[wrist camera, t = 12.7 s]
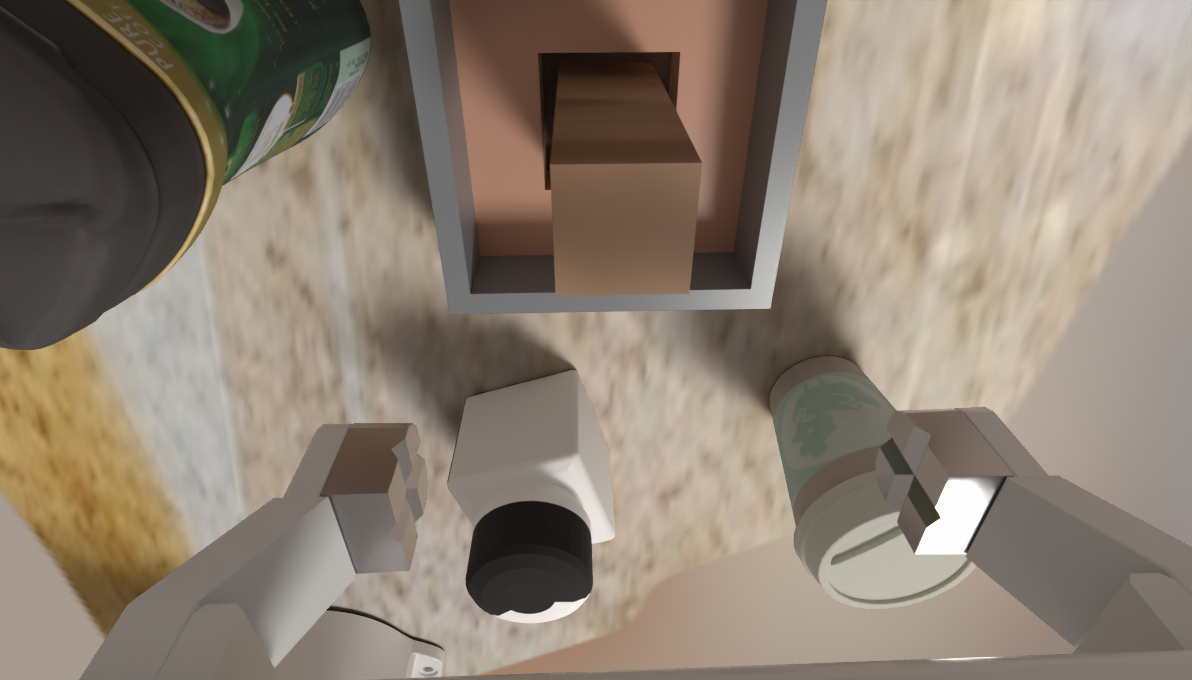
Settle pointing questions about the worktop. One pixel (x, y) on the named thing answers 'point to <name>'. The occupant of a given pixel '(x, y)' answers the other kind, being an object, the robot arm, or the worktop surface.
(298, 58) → the coffee jar
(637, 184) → the peg
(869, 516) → the coffee cup
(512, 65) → the box
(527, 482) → the medicine bottle
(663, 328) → the worktop surface
